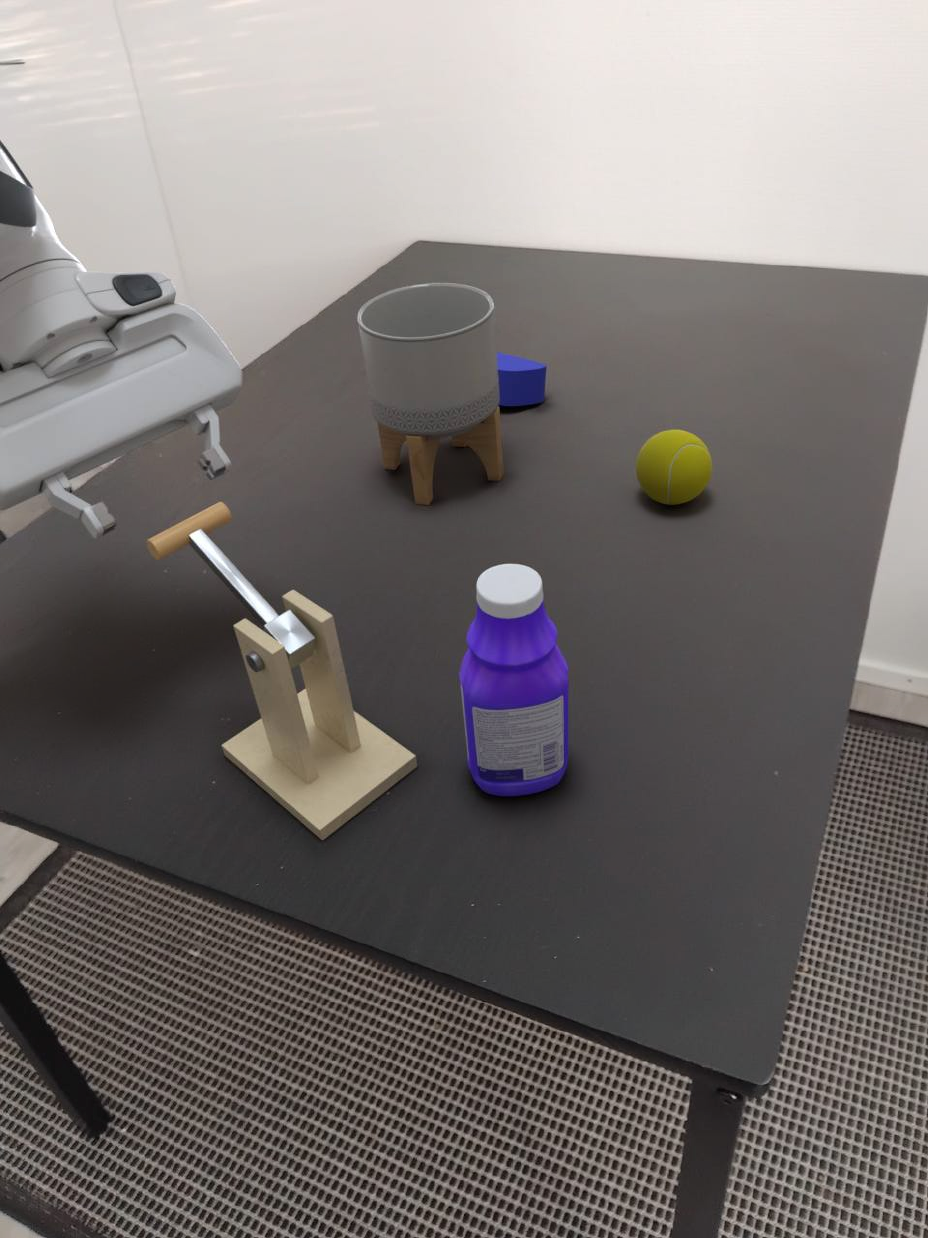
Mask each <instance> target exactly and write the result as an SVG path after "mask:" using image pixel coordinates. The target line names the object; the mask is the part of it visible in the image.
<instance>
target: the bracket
mask: <svg viewBox="0 0 928 1238" xmlns="http://www.w3.org/2000/svg"><path fill="white" fill-rule="evenodd" d="M281 597H282V602H283V605H284V610H285V612H286V611H288V610H291V611H292V612H293V613H294V615H295V616H296V617H297V618H298V619H299V620H300V621H301V622H302V623H303V625H304V626H305V627H306V628H307V629H308V630H309V631H310V632H311V633H312V634H313V636H314V637H315V638H316V639H315V644H314V649H313V654H312V656H311V657H309V658H308V659H306V660H305V661H303V662H302V663H300V664H299V668H300V673H301V676H302V679H303V683H304V687H305V688H304V689H302V690H301V691H299V692H297V688H296V684H295V680H294V677H293V673H292V669H290V665H289V661H288V658H287V654H286V650H285V646H284V645H282V644H281V643H279V642H278V641H277V640H275V639H274V638H272V637H271V636H270V635H268V634H267V633H265V632H264V631H263V629H261V628H260V627H258V626H257V625H256V624H254V623H253V622H252V621H250V620H249V619H247V618H245V617H244V618H243V619H241V620H239V621H238V622H236V623H235V624H233V629H234V632H235V636H236V638H237V643H238V645H239V649H240V653H241V656H242V658H243V663H244V666H245V669H246V672H247V676H248V678H249V682H250V685H251V688H252V689H251V690H252V692H253V695H254V699H255V702H256V705H257V709H258V712H259V715H260V718H259V719H258V720H257V721H255V722H253V723H252V724H251V725H249V726H248V727H246V728H245V729H243V730H242V731H240V732H239V733H237V734H236V735H235V736H233V737H231V738H229V739H228V740H227V741H226V742H223V743H222V744H221V748H222V751H223V753H224V756H225V757H226V758H227V759H228V760H229V761H231V762H232V763H233V764H234V765H235V766H236V767H237V768H239V770H241V771H242V772H243V773H244V774H246V776H247V777H249V779H251V780H252V781H254V782H255V783H256V784H257V785H258V786H259V787H260V788H261V789H262V790H263V791H265V792H266V793H267V794H268V795H269V796H270V797H271V798H273V799H274V800H275V801H276V802H277V803H279V804H280V805H281V806H282V807H283V808H284V809H285V810H287V811H288V812H289V813H290V814H291V815H292V816H293V817H294V818H296V819H297V820H298V821H299V822H300V823H301V824H303V825H304V827H306V828H307V829H308V830H310V832H312V833H313V835H315V836H316V837H317V838H319V839H320V840H321V841H325V840H326V839H327V838H328V837H329V836H331V835H332V834H333V833H335V832H336V831H337V830H338V829H340V828H341V827H342V826H343V825H345V824H346V823H348V821H350V820H351V819H352V818H353V817H355V816H356V815H358V814H359V813H360V812H362V811H363V810H364V809H365V808H366V807H368V806H369V805H370V804H372V802H374V801H376V800H377V799H378V798H379V797H380V796H382V795H383V794H384V793H386V792H387V791H388V790H389V789H391V788H392V787H393V786H394V785H396V784H397V783H398V782H400V781H401V780H402V779H403V778H405V777H406V776H407V775H408V774H410V773H411V772H412V771H413V770H415V769H416V768H418V761H417V756H416V754H414V753H413V752H411V751H410V750H408V749H407V748H406V747H404V745H402V744H400V743H399V742H397V740H395V739H394V738H392V737H391V736H390V735H387V733H386V732H384V731H383V730H381V729H380V728H379V727H377V726H376V725H374V724H373V723H371V722H370V721H369V720H367V719H366V718H365V717H363V716H362V715H361V714H359V713H358V712H357V711H355V710H354V707H353V702H352V697H351V692H350V688H349V683H348V679H347V678H348V677H347V674H346V669H345V665H344V660H343V656H342V651H341V647H340V642H339V638H338V633H337V628H336V624H335V619H334V615H333V614H332V613H330V612H329V611H327V610H326V609H324V608H322V607H321V606H319V605H318V604H316V603H315V602H313V601H311V600H310V599H309V598H308V597H306V596H304V595H302V594H301V593H299V592H297V591H296V590H295V589H292V590H290V591H288V592H286V593H285V594H283V595H282V596H281Z"/></svg>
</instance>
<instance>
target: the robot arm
mask: <svg viewBox="0 0 928 1238" xmlns="http://www.w3.org/2000/svg"><path fill="white" fill-rule="evenodd" d="M176 295H177V288H176V286H175V284H174V283H173V281H172V280H171V278H170V277H169V276H168V275H167V274H166V273H165V272H162V271H155V270H153V271H152V270H149V271H123V272H120V271H119V272H118V271H117V272H116V271H115V272H112V271H111V272H107V271H91V270H88V271H87V269H86V268H85V267H84V265H83V264H82V262H80V260H79V259H78V258H77V257H76V256H75V255H74V254H72V253H71V252H70V251H68V249H66V247H64V245H63V244H62V243H61V241H60V240H59V238H58V235H57V234H56V231H55V228H54V224H53V221H52V220H51V217H50V215H49V214H48V212H47V211H46V209H45V208H44V206H43V205H42V203H41V202H40V200H39V199H38V197H37V196H36V194H35V189H34V187H33V185H32V183H31V182H30V181H29V179H28V177H27V176H26V174H25V173H24V172H23V170H22V168H21V167H20V166H19V164H18V163H17V161H16V160H15V158H14V157H13V155H12V154H11V152H10V151H9V149H8V148H7V147H6V146H5V144H4V142H2V140H1V139H0V511H6V510H8V509H11V508H13V507H16V506H17V505H20V504H22V503H23V502H26V501H28V500H30V499H33V498H35V497H36V496H39V495H40V494H42V495H43V497H44V498H45V499H46V501H47V503H48V504H49V505H50V506H51V507H52V508H54V509H56V510H58V511H61V512H63V513H64V514H67V515H68V516H70V517H73V518H74V519H77V520H80V521H81V522H82V524H83V526H84V527H85V528H86V530H87V531H88V532H89V534H90V536H91V537H92V538H93V539H95V540H97V539H98V538H100V537H102V536H105V535H107V534H109V533H110V532H112V531H115V530H116V526H117V521H116V519H115V517H114V516H113V514H112V513H110V512H109V509H108V506H107V505H106V503H105V502H104V501H103V500H101V501H99V502H97V503H94V504H90V503H89V502H88V501H87V502H86V501H85V500H83V499H81V498H80V497H78V496H76V495H75V494H72V493H71V492H70V491H71V488H72V483H71V480H73V479H75V478H77V477H80V476H81V475H83V474H85V473H88V472H90V471H93V470H95V469H97V468H99V467H101V466H103V465H105V464H107V463H110V462H111V461H114V460H116V459H118V458H120V457H123V456H124V455H127V454H129V453H131V452H133V451H135V450H137V449H140V448H142V447H144V446H146V445H148V444H150V443H153V442H154V441H157V440H159V439H161V438H163V437H165V436H167V435H170V434H171V433H174V432H176V431H178V430H180V429H183V428H184V427H186V426H189V428H190V429H191V430H192V432H193V434H194V435H195V436H197V437H199V436H201V435H202V434H203V442H204V451H202V452H201V454H200V456H199V457H198V459H197V461H196V462H197V464H198V465H199V467H200V468H201V470H202V471H205V476H206V477H207V479H209V481H212V480H216V479H217V478H218V477H221V476H223V475H226V474H227V473H229V471H230V470H231V468H232V462H231V460H230V458H229V457H228V455H227V453H226V452H225V451H224V449H223V448H222V446H221V445H220V444H221V433H220V417H219V416H218V414H217V412H219V411H221V410H223V409H226V408H228V407H230V406H231V405H233V403H235V401H236V399H237V398H238V396H239V394H240V392H241V390H242V387H243V381H244V374H243V370H242V367H241V365H240V363H239V362H238V361H237V359H236V358H235V356H234V355H233V354H232V352H231V350H230V349H229V348H228V346H227V345H226V343H225V342H224V340H223V339H221V337H220V336H219V335H218V333H217V332H216V331H215V330H214V328H213V327H212V326H211V325H210V324H209V322H208V321H207V320H206V319H205V318H204V317H203V316H202V315H201V314H200V313H199V312H198V311H196V310H195V309H194V308H192V307H190V306H188V305H186V304H183V303H176Z"/></svg>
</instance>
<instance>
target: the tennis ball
mask: <svg viewBox="0 0 928 1238" xmlns="http://www.w3.org/2000/svg"><path fill="white" fill-rule="evenodd" d="M712 461H713V460H712V456H711V453H710V451H709V449H708V447H707V446H706V444H705V443H704V442H703V440H702V439H700V438H699V437H698V436H697V435H695V434H694V433H691V432H689V431H686V430H682V429H668V430H663V431H660V432H658V433H656V434H654V435H653V436H651V437H649V439H647V440H646V442H644V444H643V445H642V447H641V448H640V450H639V452H638V454H637V457H636V461H635V474H636V478H637V481H638V483H639V486H640V488H641V489H642V490H643V492H644V493H645V494H646V495H647V496H648V497H649V498H650V499H652V500H653V501H654V502H656V503H657V502H658V503H660V504H663V505H667V506H674V505H681V504H685V503H688V502H691V501H693V500H694V499H695V498H697V497H698V496H699V495H700V494H702V492H704V490H705V489H706V487H707V486H708V484H709V482H710V479H711V477H712V473H713V462H712Z"/></svg>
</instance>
